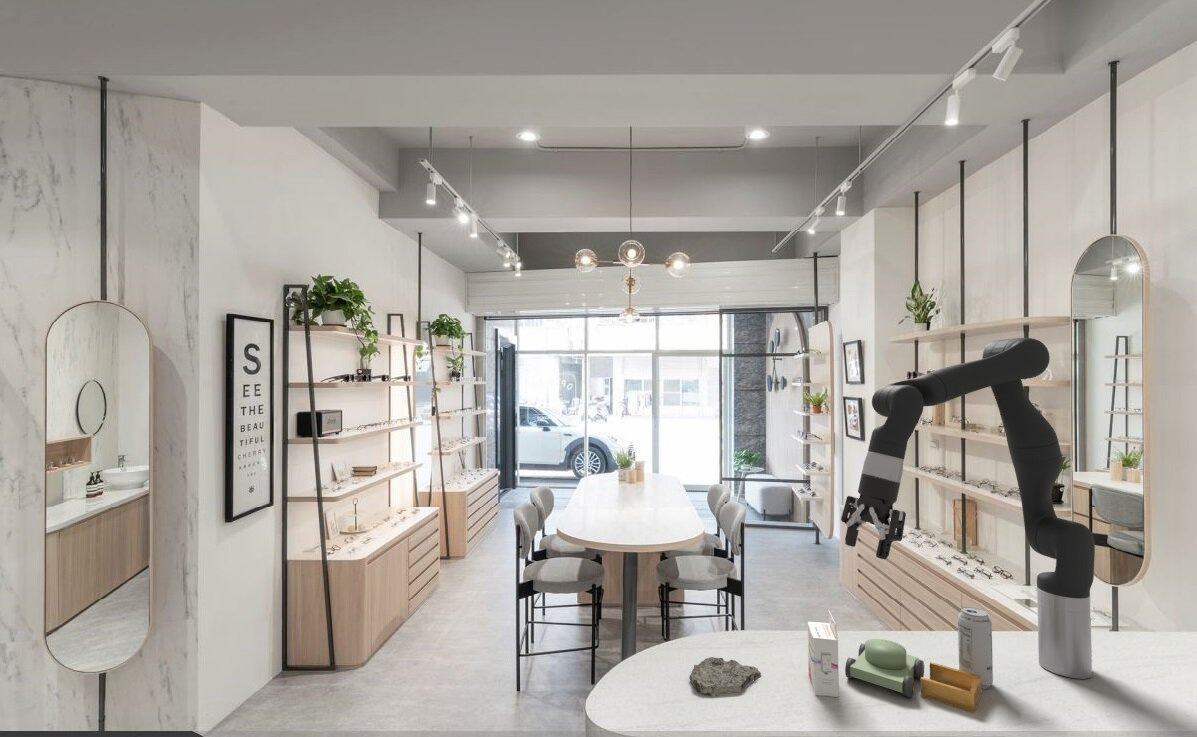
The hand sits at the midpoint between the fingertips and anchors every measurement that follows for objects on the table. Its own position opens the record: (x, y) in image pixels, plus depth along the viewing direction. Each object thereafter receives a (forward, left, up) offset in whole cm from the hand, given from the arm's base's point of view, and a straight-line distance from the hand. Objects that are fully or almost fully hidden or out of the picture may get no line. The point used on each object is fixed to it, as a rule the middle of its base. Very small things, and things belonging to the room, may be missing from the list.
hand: (864, 551), depth 119 cm
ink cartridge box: (+5, -7, -29) cm, 30 cm away
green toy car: (-7, +2, -28) cm, 29 cm away
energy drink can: (-18, +17, -29) cm, 38 cm away
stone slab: (+17, -24, -29) cm, 41 cm away
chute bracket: (-9, +14, -28) cm, 33 cm away
